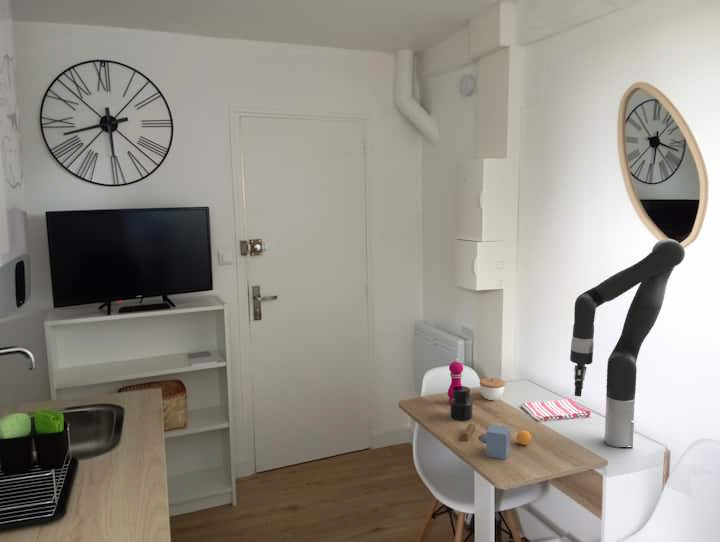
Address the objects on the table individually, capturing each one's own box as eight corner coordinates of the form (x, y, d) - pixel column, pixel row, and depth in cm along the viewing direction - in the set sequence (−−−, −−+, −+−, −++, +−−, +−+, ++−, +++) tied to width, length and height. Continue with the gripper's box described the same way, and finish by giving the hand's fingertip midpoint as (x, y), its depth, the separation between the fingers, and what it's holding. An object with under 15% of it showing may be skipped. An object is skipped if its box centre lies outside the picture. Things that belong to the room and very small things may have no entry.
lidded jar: (488, 392, 256) (489, 372, 254) (509, 398, 248) (509, 377, 247) (474, 398, 248) (474, 378, 247) (495, 404, 241) (495, 383, 239)
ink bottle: (474, 414, 231) (474, 386, 229) (473, 422, 222) (473, 393, 221) (450, 412, 233) (450, 384, 232) (448, 420, 225) (448, 391, 223)
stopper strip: (474, 430, 214) (474, 424, 214) (468, 441, 205) (468, 434, 205) (469, 429, 215) (469, 423, 215) (462, 440, 206) (462, 433, 206)
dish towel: (592, 418, 225) (592, 410, 225) (538, 423, 221) (538, 415, 221) (569, 403, 242) (569, 395, 241) (519, 408, 238) (519, 400, 237)
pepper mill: (446, 400, 246) (446, 356, 244) (463, 400, 246) (463, 356, 244) (448, 406, 239) (448, 361, 237) (465, 406, 239) (466, 361, 236)
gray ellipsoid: (503, 436, 209) (503, 435, 209) (499, 444, 202) (499, 444, 202) (481, 432, 212) (481, 432, 212) (476, 441, 205) (476, 440, 205)
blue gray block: (509, 451, 197) (510, 427, 195) (506, 459, 191) (506, 434, 189) (490, 447, 199) (490, 424, 198) (486, 455, 193) (486, 431, 192)
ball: (531, 442, 203) (532, 429, 203) (529, 448, 199) (530, 434, 198) (517, 440, 205) (517, 427, 205) (515, 445, 201) (515, 432, 200)
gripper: (592, 355, 194) (588, 400, 197) (594, 345, 207) (590, 387, 209) (569, 352, 197) (566, 396, 200) (572, 343, 210) (569, 384, 212)
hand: (578, 392), depth 205 cm, fingers open, 8 cm apart
